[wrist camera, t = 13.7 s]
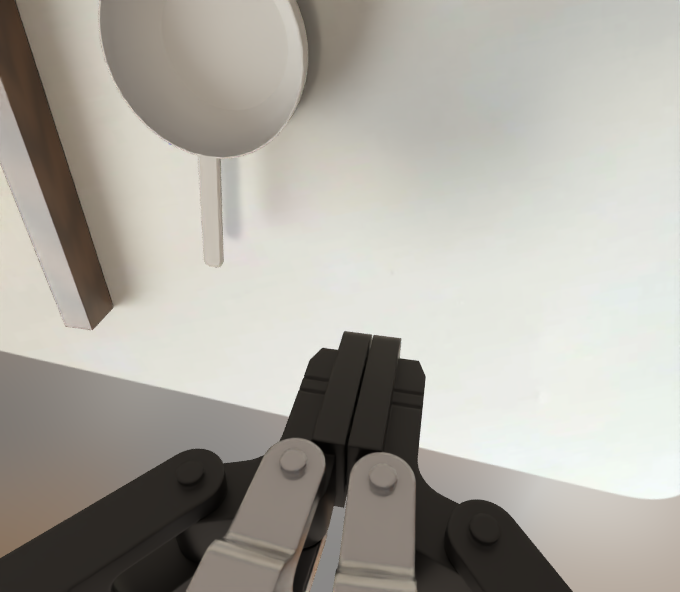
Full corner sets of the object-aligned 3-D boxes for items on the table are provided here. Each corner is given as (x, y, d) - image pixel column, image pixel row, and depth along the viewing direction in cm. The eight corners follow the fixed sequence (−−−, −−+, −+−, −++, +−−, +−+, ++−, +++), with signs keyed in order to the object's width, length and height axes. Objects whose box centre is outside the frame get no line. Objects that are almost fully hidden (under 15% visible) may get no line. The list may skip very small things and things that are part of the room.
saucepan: (326, -65, 25) (306, -64, 22) (308, 252, 36) (293, 283, 33) (118, -89, 26) (72, -91, 23) (161, 226, 37) (133, 253, 34)
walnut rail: (-88, -187, 25) (-146, -199, 23) (-46, -189, 25) (-100, -201, 23) (87, 304, 43) (65, 326, 40) (113, 307, 42) (92, 330, 40)
